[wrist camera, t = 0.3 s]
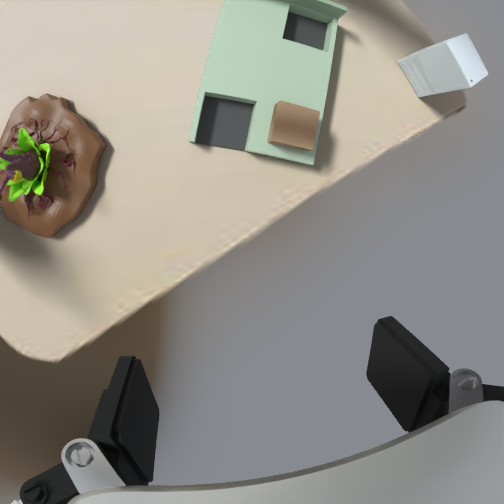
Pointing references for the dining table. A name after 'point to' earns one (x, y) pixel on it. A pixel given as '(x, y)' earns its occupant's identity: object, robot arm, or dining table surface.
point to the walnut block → (293, 126)
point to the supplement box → (444, 67)
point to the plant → (47, 164)
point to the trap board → (264, 72)
